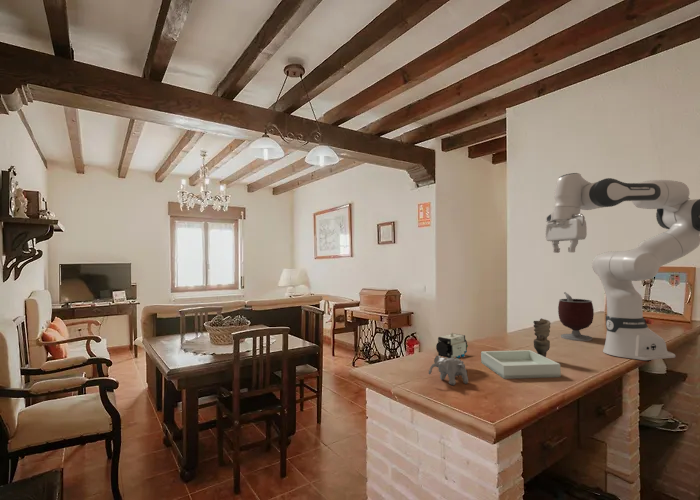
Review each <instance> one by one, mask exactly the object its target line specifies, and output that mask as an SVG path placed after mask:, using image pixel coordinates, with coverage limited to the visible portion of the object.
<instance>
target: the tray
mask: <svg viewBox="0 0 700 500" xmlns="http://www.w3.org/2000/svg"><path fill="white" fill-rule="evenodd" d="M480 361H481V362H480V364H481V363H482V365H484V366H486V368H488V369H489V370H491V371H492V372H493V373H495V374H497V375H498V376H499V377H500V378H502V379H505V380H506V379H507V380H508V379H509V380H510V379H511V380H512V379H541V378H542V379H544V378H561V377H562V376H561V374H562V373H561V372H562V371H561V363H559V362H557V361H554V360H552V359H550V358H548V357H547V356H546V357H544V356H542V355H540V354H538V353H537V352H535V351H533V350H530V349H528V350H527V349H525V350H524V349H522V350H519V349H518V350H489V351H486V350H485V351H481V352H480Z"/></svg>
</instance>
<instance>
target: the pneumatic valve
mask: <svg viewBox="0 0 700 500" xmlns="http://www.w3.org/2000/svg"><path fill="white" fill-rule="evenodd" d="M449 333H450V334H446V335H442V336H438V338H437V343H436V344H435V345H436V346H435V348H436V351H437V353H438V355H437V356H440V357H444V358H446V359H449V358H453V359H458V360H460V358H456V357H458V356H459V355H460V356H461V355H462V354H466V353H465V351H467V352H468V347H467V345H468V341H467V339H466V335H465V334H460V333H459V334H458V333H454V332H449Z"/></svg>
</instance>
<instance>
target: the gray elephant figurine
mask: <svg viewBox="0 0 700 500" xmlns="http://www.w3.org/2000/svg"><path fill="white" fill-rule="evenodd" d="M446 358H447V357H443V356H439V355H436V356H435V357H434V360H433V361H434V363H433V364H431V366H430V368H429V370H428V374H429V375H432V372H433V369H434V368H437V369H438V372H439V378H440V380H441V381H444V380H445V379H446V376H447V377H448V379H449V381H448V384H449V385H451V386H455V385H456V383H457V381H456V377H458V378H460V376H461V378H462V382H463V384H465V385H467V384H468V383H469V378H468V373H467V369H466V364H464V363H465V362H464V361H463V360H461V359H459V360H458V359H453V358H449V359H446Z"/></svg>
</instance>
